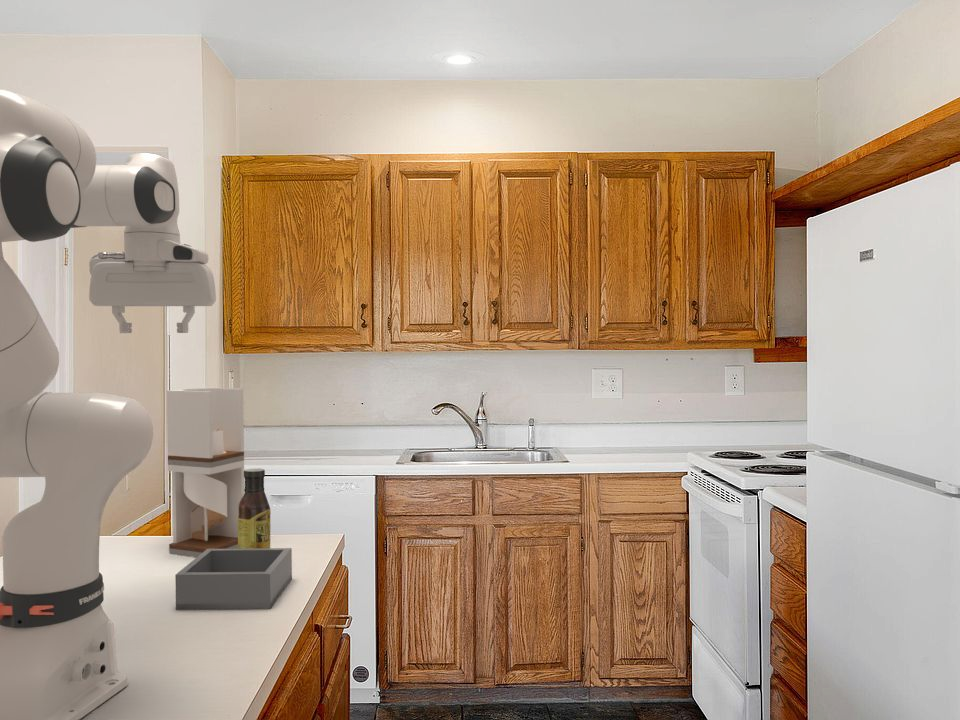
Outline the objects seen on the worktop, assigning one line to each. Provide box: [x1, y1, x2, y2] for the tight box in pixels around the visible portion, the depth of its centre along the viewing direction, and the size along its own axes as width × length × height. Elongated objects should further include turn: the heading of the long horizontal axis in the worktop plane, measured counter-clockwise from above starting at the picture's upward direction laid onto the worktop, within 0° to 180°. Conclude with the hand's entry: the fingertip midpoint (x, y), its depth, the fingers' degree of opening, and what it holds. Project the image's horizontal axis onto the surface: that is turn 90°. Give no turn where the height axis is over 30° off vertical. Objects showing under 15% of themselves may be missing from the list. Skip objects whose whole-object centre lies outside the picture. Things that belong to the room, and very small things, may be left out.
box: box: [174, 547, 293, 611], centre depth 139 cm, size 16×16×6 cm
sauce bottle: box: [238, 467, 271, 549], centre depth 154 cm, size 6×6×20 cm
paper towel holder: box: [166, 387, 245, 558], centre depth 167 cm, size 11×11×35 cm
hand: (154, 333), depth 132 cm, fingers open, 8 cm apart
